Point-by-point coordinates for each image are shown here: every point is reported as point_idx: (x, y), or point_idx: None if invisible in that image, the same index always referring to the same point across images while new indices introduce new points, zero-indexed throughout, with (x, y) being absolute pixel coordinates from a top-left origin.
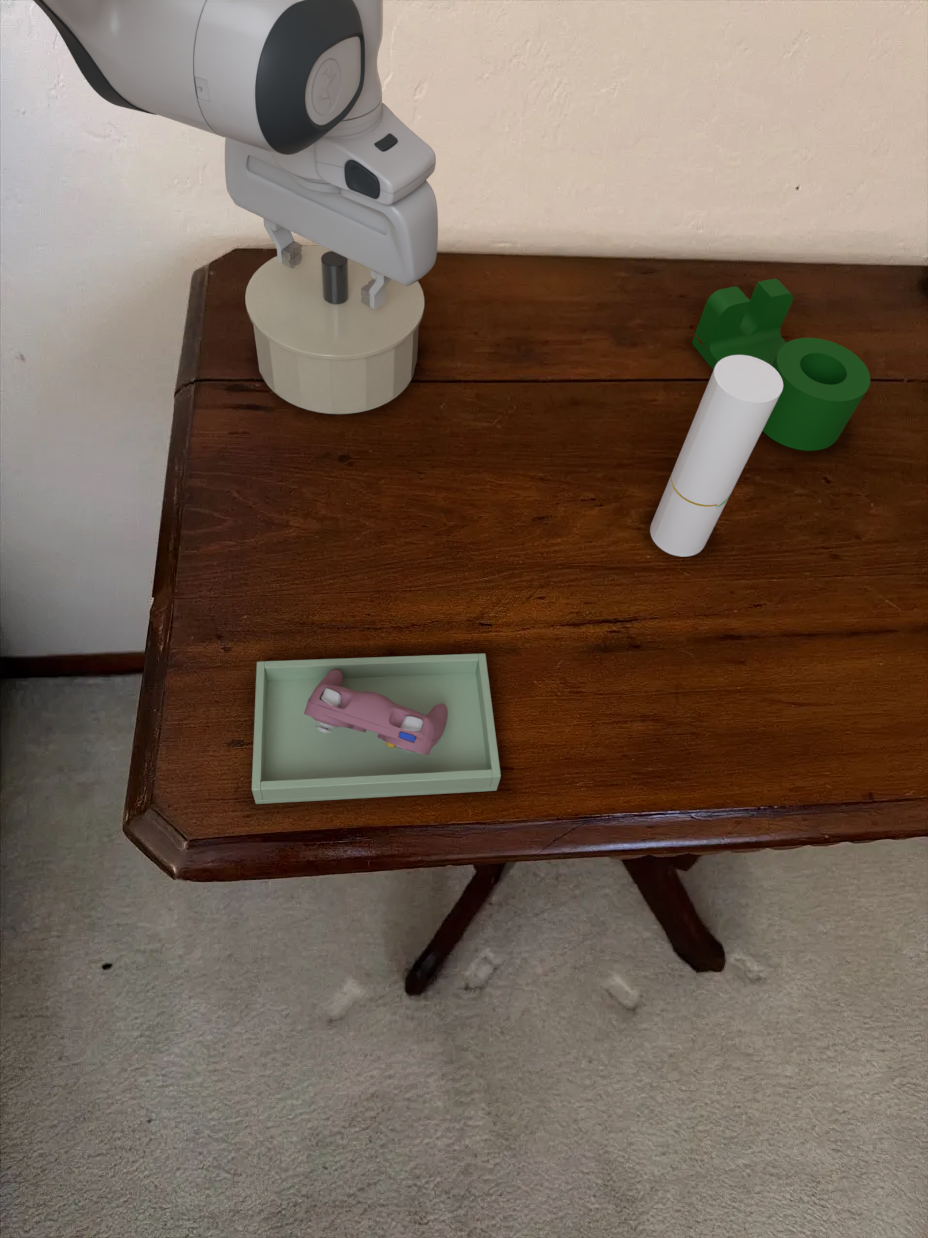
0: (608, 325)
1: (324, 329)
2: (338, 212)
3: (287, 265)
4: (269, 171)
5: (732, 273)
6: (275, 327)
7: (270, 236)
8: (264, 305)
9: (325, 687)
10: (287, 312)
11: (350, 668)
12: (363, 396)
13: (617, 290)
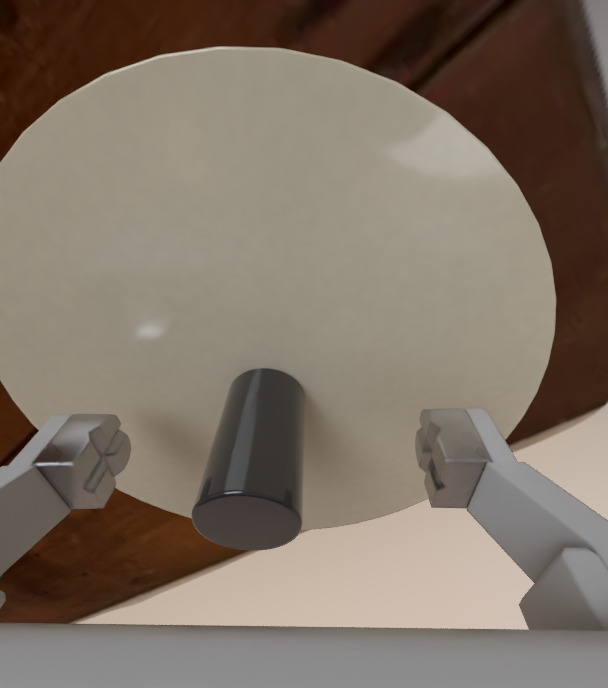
0: (86, 526)
1: (166, 264)
2: None
3: (441, 412)
4: None
5: (87, 602)
6: (308, 134)
7: (573, 499)
8: (434, 224)
9: None
10: (332, 249)
11: None
12: None
13: (131, 558)
